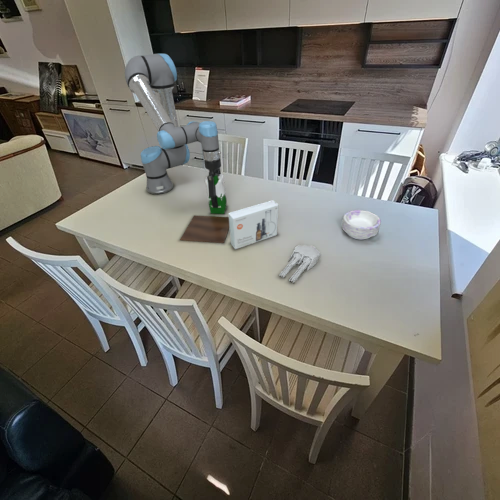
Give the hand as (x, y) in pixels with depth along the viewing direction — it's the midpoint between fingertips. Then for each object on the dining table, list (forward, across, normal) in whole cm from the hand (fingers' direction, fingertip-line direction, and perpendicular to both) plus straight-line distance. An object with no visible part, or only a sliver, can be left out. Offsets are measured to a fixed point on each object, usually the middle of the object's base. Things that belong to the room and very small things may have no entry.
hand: (217, 202), depth 141 cm
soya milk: (+5, 0, 0) cm, 5 cm away
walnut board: (+4, -17, +1) cm, 18 cm away
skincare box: (+5, -23, -22) cm, 32 cm away
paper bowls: (+5, -14, -67) cm, 69 cm away
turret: (+5, -38, -42) cm, 57 cm away
